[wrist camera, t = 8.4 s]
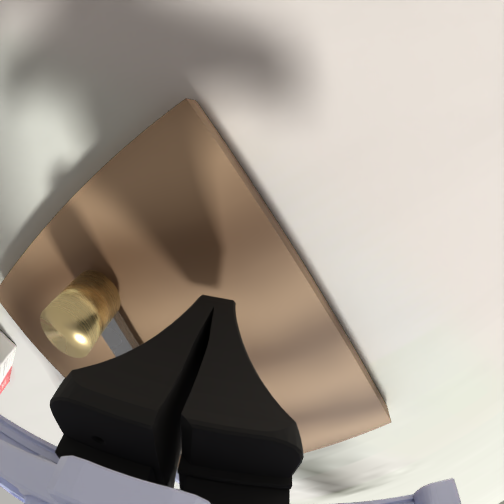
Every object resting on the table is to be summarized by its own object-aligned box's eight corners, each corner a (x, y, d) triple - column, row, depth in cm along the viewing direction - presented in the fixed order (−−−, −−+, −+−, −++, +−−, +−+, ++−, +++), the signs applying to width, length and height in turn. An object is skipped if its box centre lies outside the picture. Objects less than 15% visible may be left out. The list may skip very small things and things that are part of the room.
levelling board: (386, 406, 18) (391, 423, 17) (192, 461, 23) (189, 475, 22) (196, 100, 12) (185, 98, 10) (6, 283, 16) (-7, 294, 15)
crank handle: (257, 440, 17) (254, 481, 15) (156, 444, 19) (145, 477, 16) (152, 248, 12) (119, 288, 9) (38, 287, 14) (4, 319, 11)
